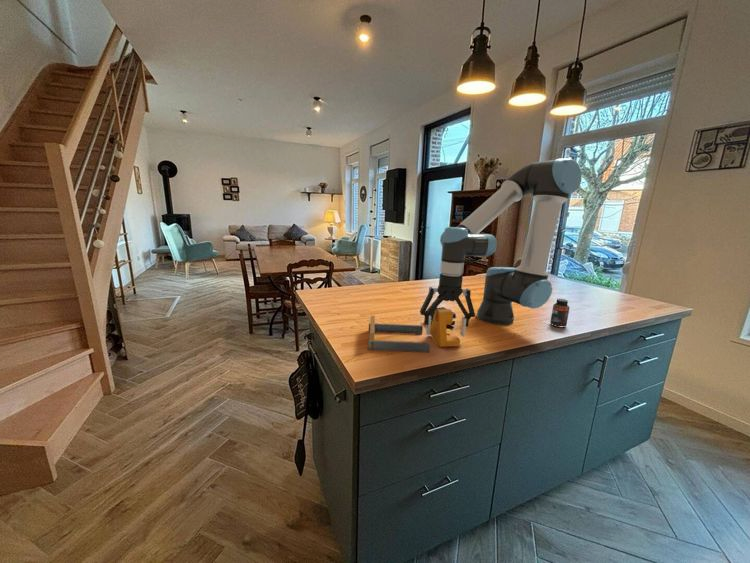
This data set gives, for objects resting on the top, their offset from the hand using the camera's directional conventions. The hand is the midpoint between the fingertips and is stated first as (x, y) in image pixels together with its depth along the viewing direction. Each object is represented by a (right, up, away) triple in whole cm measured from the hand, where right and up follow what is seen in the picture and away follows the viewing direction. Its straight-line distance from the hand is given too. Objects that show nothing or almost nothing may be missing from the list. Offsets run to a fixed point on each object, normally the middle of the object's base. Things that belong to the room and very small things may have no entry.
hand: (445, 334), depth 106 cm
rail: (-17, -2, -1) cm, 17 cm away
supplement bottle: (+53, 0, +22) cm, 57 cm away
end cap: (+2, +1, +16) cm, 16 cm away
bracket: (0, -3, +1) cm, 3 cm away
